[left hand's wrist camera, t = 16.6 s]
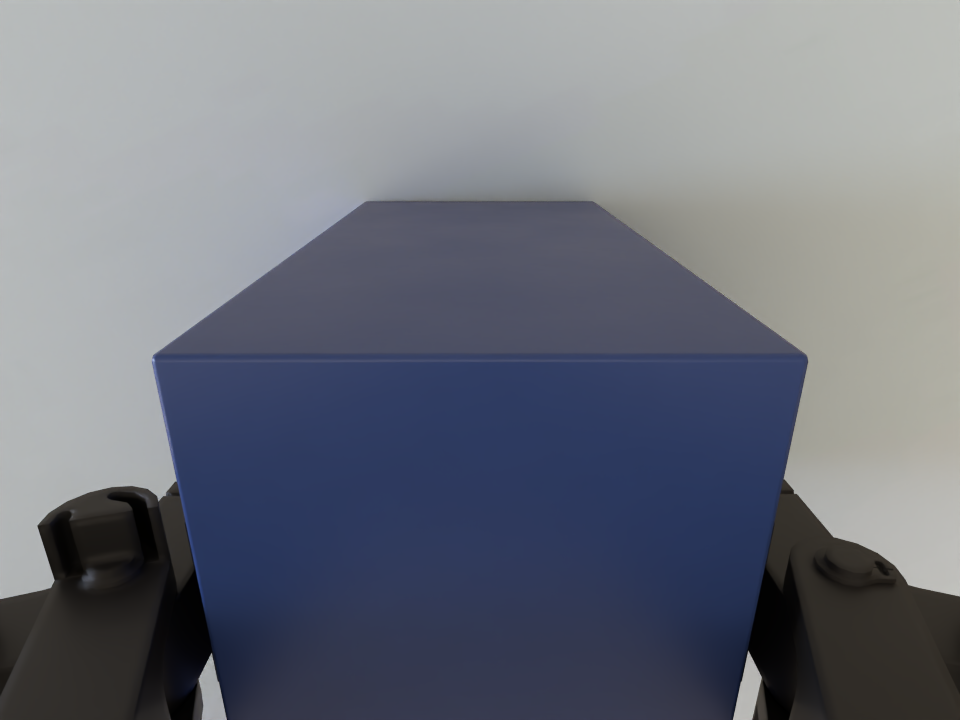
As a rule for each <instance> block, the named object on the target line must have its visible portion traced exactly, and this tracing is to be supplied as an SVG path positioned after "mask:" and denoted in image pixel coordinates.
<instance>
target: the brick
mask: <svg viewBox="0 0 960 720" xmlns="http://www.w3.org/2000/svg"><path fill="white" fill-rule="evenodd" d="M152 364H153V369H154V374H155V379H156V383H157V388H158V393H159V398H160V402H161V407H162V412H163V417H164V421H165V426H166V431H167V436H168V441H169V445H170V450H171V455H172V460H173V464H174V469H175V474H176V479H177V483H178V488H179V493H180V498H181V503H182V507H183V512H184V517H185V522H186V526H187V531H188V536H189V541H190V546H191V550H192V555H193V560H194V565H195V569H196V574H197V579H198V584H199V588H200V593H201V598H202V603H203V608H204V612H205V617H206V622H207V627H208V631H209V636H210V641H211V646H212V650H213V655H214V660H215V665H216V670H217V674H218V679H219V684H220V689H221V693H222V698H223V703H224V708H225V713H226V717H227V720H733V717H734V712H735V707H736V702H737V698H738V693H739V688H740V683H741V678H742V674H743V669H744V664H745V659H746V655H747V650H748V645H749V640H750V636H751V631H752V626H753V621H754V617H755V612H756V607H757V602H758V598H759V593H760V588H761V583H762V578H763V574H764V569H765V564H766V559H767V555H768V550H769V545H770V540H771V536H772V531H773V526H774V521H775V517H776V512H777V507H778V502H779V498H780V493H781V488H782V483H783V478H784V474H785V469H786V464H787V459H788V455H789V450H790V445H791V440H792V436H793V431H794V426H795V421H796V417H797V412H798V407H799V402H800V398H801V393H802V388H803V383H804V378H805V374H806V369H807V364H808V358H807V355H806V354H804V353H803V352H802V351H800V350H799V349H797V348H796V347H795V346H793V345H792V344H790V343H789V342H788V341H786V340H785V339H784V338H782V337H781V336H779V335H778V334H777V333H775V332H774V331H772V330H771V329H770V328H768V327H767V326H765V325H764V324H763V323H761V322H760V321H759V320H757V319H756V318H754V317H753V316H752V315H750V314H749V313H747V312H746V311H745V310H743V309H742V308H740V307H739V306H738V305H736V304H735V303H734V302H732V301H731V300H729V299H728V298H727V297H725V296H724V295H722V294H721V293H720V292H718V291H717V290H715V289H714V288H713V287H711V286H710V285H708V284H707V283H706V282H704V281H703V280H702V279H700V278H699V277H697V276H696V275H695V274H693V273H692V272H690V271H689V270H688V269H686V268H685V267H683V266H682V265H681V264H679V263H678V262H677V261H675V260H674V259H672V258H671V257H670V256H668V255H667V254H665V253H664V252H663V251H661V250H660V249H658V248H657V247H656V246H654V245H653V244H651V243H650V242H649V241H647V240H646V239H645V238H643V237H642V236H640V235H639V234H638V233H636V232H635V231H633V230H632V229H631V228H629V227H628V226H626V225H625V224H624V223H622V222H621V221H620V220H618V219H617V218H615V217H614V216H613V215H611V214H610V213H608V212H607V211H606V210H604V209H603V208H601V207H600V206H599V205H597V204H596V203H594V202H365V203H363V204H362V205H361V206H359V207H358V208H356V209H355V210H354V211H352V212H351V213H349V214H348V215H347V216H345V217H344V218H343V219H341V220H340V221H338V222H337V223H336V224H334V225H333V226H331V227H330V228H329V229H327V230H326V231H325V232H323V233H322V234H320V235H319V236H318V237H316V238H315V239H313V240H312V241H311V242H309V243H308V244H307V245H305V246H304V247H302V248H301V249H300V250H298V251H297V252H295V253H294V254H293V255H291V256H290V257H289V258H287V259H286V260H284V261H283V262H282V263H280V264H279V265H278V266H276V267H275V268H273V269H272V270H271V271H269V272H268V273H266V274H265V275H264V276H262V277H261V278H260V279H258V280H257V281H255V282H254V283H253V284H251V285H250V286H248V287H247V288H246V289H244V290H243V291H242V292H240V293H239V294H237V295H236V296H235V297H233V298H232V299H230V300H229V301H228V302H226V303H225V304H224V305H222V306H221V307H219V308H218V309H217V310H215V311H214V312H213V313H211V314H210V315H208V316H207V317H206V318H204V319H203V320H201V321H200V322H199V323H197V324H196V325H195V326H193V327H192V328H190V329H189V330H188V331H186V332H185V333H183V334H182V335H181V336H179V337H178V338H177V339H175V340H174V341H172V342H171V343H170V344H168V345H167V346H165V347H164V348H163V349H161V350H160V351H159V352H157V353H156V354H154V355H153V359H152Z"/></svg>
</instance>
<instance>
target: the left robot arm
mask: <svg viewBox="0 0 960 720" xmlns="http://www.w3.org/2000/svg"><path fill="white" fill-rule="evenodd" d="M38 529H39V532H40V535H41V539H42V542H43V545H44V548H45V551H46V554H47V557H48V561H49V564H50V567H51V570H52V573H53V576H54V580H55V581H54V583H53V585H52V587H51V588H49V589H46V590H42V591H38V592H33V593H28V594H23V595H19V596H14V597H9V598H4V599H0V720H202V711H203V700H202V693H201V688H200V684H199V677H200V675H201V673H202V671H203V669H204V667H205V665H206V663H207V661H208V659H209V657H210V655H211V653H212V656H213V660H214V655H213V650H212V646H211V641H210V636H209V631H208V627H207V622H206V617H205V612H204V608H203V603H202V598H201V593H200V588H199V584H198V579H197V574H196V569H195V565H194V560H193V555H192V550H191V546H190V541H189V536H188V531H187V526H186V522H185V517H184V512H183V507H182V503H181V498H180V493H179V488H178V483H177V482H175V483H174V484H173V485H172V486H171V488H170V489H169V490H168V491H167V492H166V496H163V497H162V498H161V499H160V501H159V502H158V498H157V496H156V495H155V494H153V493H152V492H151V491H149V490H148V489H144V488H139V487H134V486H127V487H111V488H107V489H102V490H98V491H94V492H90V493H87V494H85V495H82V496H80V497H77V498H75V499H72V500H70V501H67V502H66V503H64V504H63V505H61V506H59V507H58V508H56V509H55V510H53V511H51V512H50V513H49V514H48V515H47V516H46V517H45V518H44V519H43V520H42V521H41V522H40V523H39V525H38ZM748 651H749V653H750V655H751V657H752V658H753V660H754V662H755V664H756V666H757V668H758V670H759V672H760V674H761V676H762V679H761V684H760V688H759V693H758V697H757V701H756V706H755V710H754V715H753V719H752V720H960V597H959V596H955V595H950V594H945V593H940V592H935V591H931V590H926V589H921V588H917V587H913V586H909V585H908V584H907V582H906V580H905V579H904V577H903V576H902V575H901V573H900V572H899V571H898V569H897V568H896V567H895V566H894V565H893V564H891V563H890V562H889V561H887V560H886V559H885V558H883V557H882V556H881V555H879V554H878V553H876V552H874V551H872V550H869V549H867V548H865V547H863V546H861V545H859V544H857V543H853V542H849V541H845V540H842V539H838V538H833V536H832V535H831V534H830V533H829V532H828V530H827V529H826V528H825V527H824V526H823V524H822V523H821V522H820V521H819V520H818V519H817V517H816V516H815V515H814V514H813V513H812V511H811V510H810V509H809V508H808V507H807V506H806V504H805V503H804V502H803V501H802V500H801V498H800V497H799V496H798V495H797V494H794V490H793V489H792V488H791V487H790V485H789V484H788V483H787V482H786V481H785V480H783V483H782V488H781V493H780V498H779V502H778V507H777V512H776V517H775V521H774V526H773V531H772V536H771V540H770V545H769V550H768V555H767V559H766V564H765V569H764V574H763V578H762V583H761V588H760V593H759V598H758V602H757V607H756V612H755V617H754V621H753V626H752V631H751V636H750V640H749V645H748V650H747V654H748ZM746 658H747V655H746ZM745 663H746V659H745ZM214 665H215V660H214ZM744 668H745V664H744ZM215 670H216V665H215ZM743 673H744V669H743ZM216 675H217V679H218V674H217V670H216ZM742 677H743V674H742ZM218 682H219V679H218ZM741 682H742V678H741Z"/></svg>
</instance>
